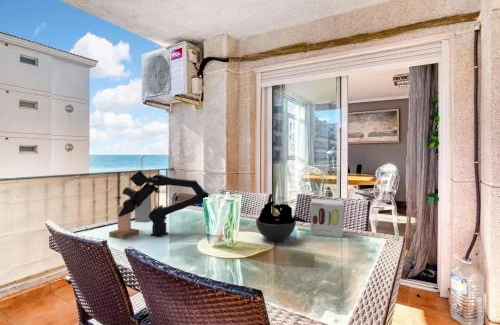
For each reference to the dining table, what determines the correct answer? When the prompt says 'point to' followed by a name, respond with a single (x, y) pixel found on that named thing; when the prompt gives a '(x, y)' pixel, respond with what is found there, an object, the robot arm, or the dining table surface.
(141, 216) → the skincare box
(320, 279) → the dining table surface
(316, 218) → the supplement box
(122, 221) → the terracotta block
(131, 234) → the walnut slab
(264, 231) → the black rounded bowl
